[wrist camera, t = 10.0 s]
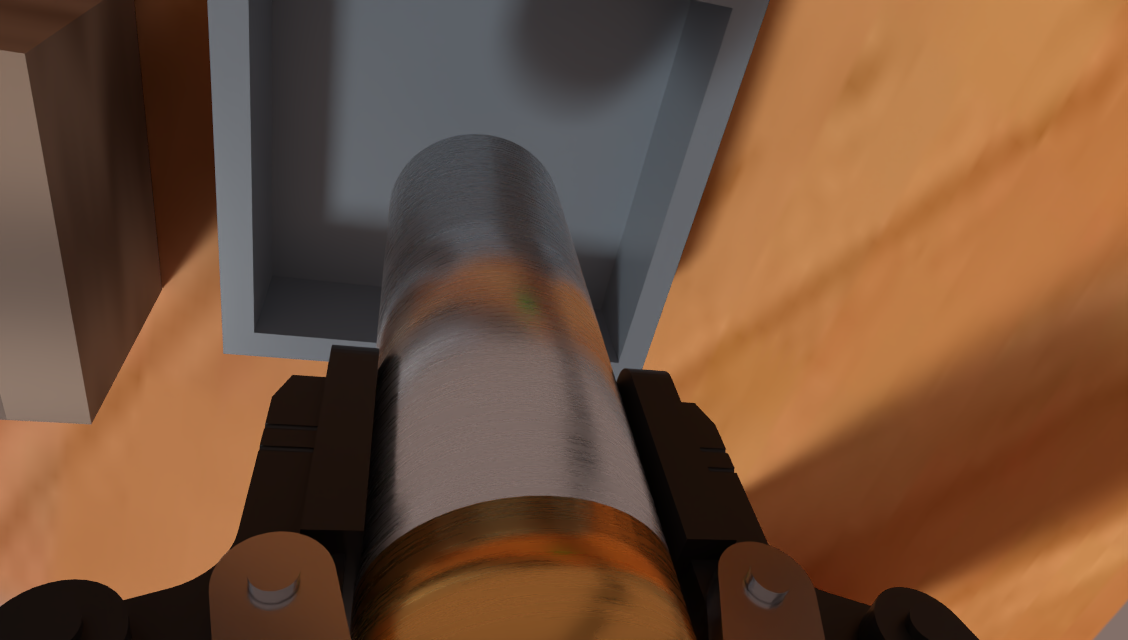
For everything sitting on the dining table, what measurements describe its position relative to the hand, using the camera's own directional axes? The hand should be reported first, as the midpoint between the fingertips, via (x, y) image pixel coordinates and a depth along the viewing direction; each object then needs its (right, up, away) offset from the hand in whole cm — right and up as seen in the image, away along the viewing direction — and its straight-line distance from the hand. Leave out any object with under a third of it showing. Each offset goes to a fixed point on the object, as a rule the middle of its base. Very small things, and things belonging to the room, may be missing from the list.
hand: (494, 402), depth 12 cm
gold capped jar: (-1, +4, +5) cm, 7 cm away
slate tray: (-2, +7, +9) cm, 12 cm away
